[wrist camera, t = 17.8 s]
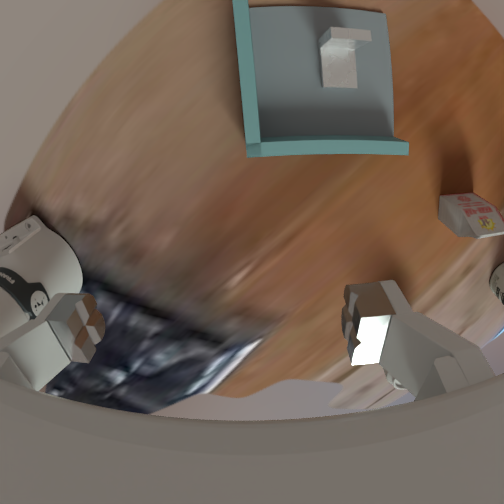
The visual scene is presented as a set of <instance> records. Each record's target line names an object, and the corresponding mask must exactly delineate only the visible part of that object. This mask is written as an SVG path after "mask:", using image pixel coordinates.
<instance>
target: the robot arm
mask: <svg viewBox="0 0 504 504" xmlns="http://www.w3.org/2000/svg"><path fill="white" fill-rule="evenodd" d="M82 281H83V278H82V271H81V267H80V264H79V261H78V259H77V257H76V255H75V254H74V252H73V250H72V249H71V247H70V246H69V245H68V244H67V243H66V242H65V240H63V239H62V238H61V237H60V236H59V235H58V234H56V233H55V232H53V231H51V230H50V229H48V228H47V227H46V226H45V225H44V224H43V223H42V221H41V220H40V219H39V218H38V217H37V216H35V215H33V216H31V217H29V218H27V219H25V220H24V221H22V222H20V223H18V224H17V225H15V226H13V227H11V228H10V229H8V230H6V231H5V232H3V233H1V234H0V504H504V373H503V374H500V375H498V376H495V374H494V372H493V370H492V369H491V367H490V365H489V364H488V362H487V360H486V358H485V356H484V355H483V353H482V351H481V350H480V348H479V347H478V346H477V345H475V344H473V343H472V342H470V341H468V340H466V339H465V338H463V337H461V336H460V335H458V334H456V333H454V332H453V331H451V330H449V329H447V328H446V327H444V326H442V325H441V324H439V323H437V322H435V321H434V320H432V319H430V318H428V317H427V316H425V315H423V314H421V313H419V312H413V310H412V308H411V307H410V305H409V303H408V302H407V300H406V298H405V297H404V295H403V293H402V292H401V290H400V288H399V287H398V285H397V284H396V282H395V281H394V280H386V281H378V282H372V283H362V284H351V285H346V286H345V290H344V299H345V302H346V305H345V306H344V307H343V308H342V317H341V318H342V331H343V335H344V338H345V339H346V340H348V347H347V350H348V353H349V357H350V361H351V364H352V365H357V364H367V363H375V362H379V364H380V365H381V366H382V367H383V368H384V369H385V370H386V371H388V372H389V373H390V374H391V375H392V376H393V377H394V378H395V379H396V380H397V381H398V382H399V383H400V384H402V385H403V386H404V387H405V388H406V389H407V390H408V391H409V392H410V393H411V394H412V395H413V396H415V397H416V398H415V400H414V402H409V403H405V404H400V405H395V406H391V407H385V408H380V409H375V410H369V411H363V412H356V413H349V414H342V415H334V416H325V417H315V418H303V419H289V420H265V421H221V420H198V419H184V418H173V417H164V416H155V415H147V414H140V413H133V412H127V411H121V410H115V409H109V408H104V407H99V406H94V405H90V404H85V403H81V402H76V401H72V400H68V399H64V398H60V397H57V396H53V395H49V394H46V393H43V392H39V390H40V389H41V388H42V387H43V386H45V385H46V384H47V383H48V382H49V381H50V380H51V379H52V378H53V377H54V376H56V375H57V374H58V373H59V372H60V371H61V370H62V369H63V368H64V367H66V366H67V365H68V364H69V363H70V361H75V362H84V363H89V362H90V360H91V358H92V356H93V355H94V353H95V351H96V346H95V344H97V343H98V342H100V341H101V340H102V338H103V336H104V331H105V323H104V319H103V317H102V314H101V313H99V312H98V311H97V310H96V306H97V303H96V301H95V299H94V297H93V296H92V295H90V294H80V293H79V292H80V290H81V287H82Z"/></svg>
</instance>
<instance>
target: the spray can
mask: <svg viewBox="0 0 504 504" xmlns="http://www.w3.org/2000/svg"><path fill="white" fill-rule="evenodd" d="M490 288H491V290H492V292H493V293H494V294H495V295H496V296H497V297H498V299H499V300H500V301H501V302H502V303H503V304H504V263H502V264H501V265H499V266H498V267H497V268H496V269H495V270H494V272H493V274H492V276H491V279H490Z"/></svg>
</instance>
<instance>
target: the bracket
mask: <svg viewBox="0 0 504 504" xmlns="http://www.w3.org/2000/svg"><path fill="white" fill-rule="evenodd" d="M371 41H372V39H371V31H370V30H362V29H352V28H340V27H330V28H329V29H328V30H327V31H326V32H325V33H324V34H323V35H322V36H321V37H320V38H319V39H318V49H319V60H320V72H321V86H322V87H323V88H353V89H355V88H358V87H357V72H356V59H355V49H357V48H359V47H361V46H363V45H365V44H367V43H369V42H371Z"/></svg>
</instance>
